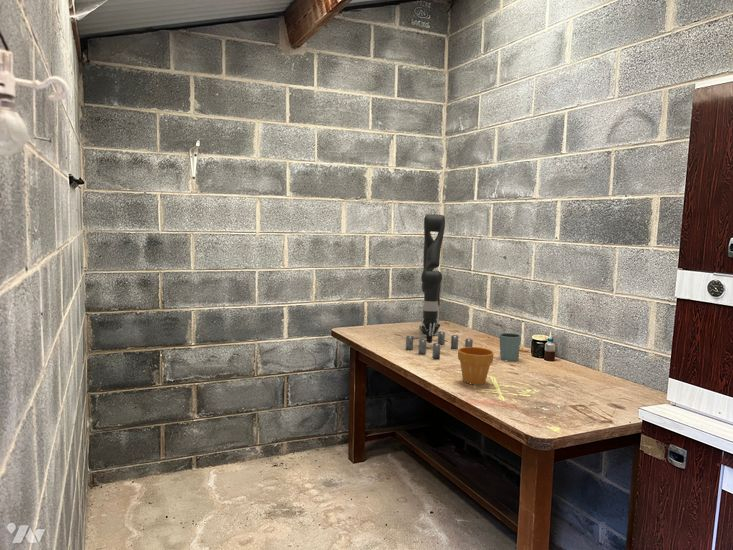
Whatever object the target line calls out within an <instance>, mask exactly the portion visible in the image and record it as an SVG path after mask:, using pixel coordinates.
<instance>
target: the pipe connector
mask: <svg viewBox="0 0 733 550" xmlns="http://www.w3.org/2000/svg"><path fill="white" fill-rule="evenodd" d="M418 331H419V335H412V336H413V340H420V339H424V340H426V338H427V336H426V335H424V334H423V332H422V331H421V329H420V327H419V326H418Z"/></svg>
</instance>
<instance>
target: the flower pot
mask: <svg viewBox="0 0 733 550" xmlns="http://www.w3.org/2000/svg"><path fill="white" fill-rule="evenodd" d="M457 360H458V361H459V362H460V368H461V375H462V381H463V382H464V383H465V382H467V383H471V384H470V385H472V384H482V385H484V384H486V380H487V377H488V374H489V371H490V366H491V364H492V363H493V362H494V351H493V350H492V349H489V348H483V347H477V346H472V347H465V346H464V347H460V348H458V350H457ZM467 383H466V384H467ZM483 383H484V384H483Z"/></svg>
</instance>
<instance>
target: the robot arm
mask: <svg viewBox="0 0 733 550" xmlns="http://www.w3.org/2000/svg"><path fill="white" fill-rule="evenodd" d="M445 226H446V217H445V216H444V215H443V214H436V213H434V214H430V213H429V214H425V216H424V219H423V236H424V237H423V239H424V242H423V243H424V245H423V260H422V265H423V269H422V270H423V271H422V274H421V278H420V279H421V291H422V292H423V293H424V294H423V305H422V317H421V325H419V326H418V328H419V327H420V329H421V331H422V332H423V335H426V336H427V338H425V340H426V344H433V343H432V342H433V337H434V336H433V335H435V336H438V332H439V330H440V327H441V323H440V322H439V321H440V302H441V300H440V297H441V290H442V289H441V287H442V280H443V274H442V272H441V271H439V270H435V269H438V268H439V267H440V261H441V249H442V244H443V239H444V234H445V228H446V227H445ZM432 232H434V233H437V234H436V235H437V236H436V237H435V239H434V238H433V236H432Z"/></svg>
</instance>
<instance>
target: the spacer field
mask: <svg viewBox="0 0 733 550" xmlns="http://www.w3.org/2000/svg"><path fill="white" fill-rule="evenodd" d="M413 336H414V335H406V336H405V351H408V350H409V351H410V352H412V351H413V349H414V339H413ZM450 337H451V338H450V349H451V350H452V349H459V335H456V334H452V335H451V336H450ZM445 341H446V331H438V335H437V342H436V343H432V353H431V355H432V356H431V359H432V358H433V359H432V360H436V359H438V360H441V346H440V345H444V346H445ZM464 343H465V344H464V347H474V346H473V344H474V340H473V339H472V338H465V341H464ZM411 350H412V351H411ZM420 354H421V355H420ZM425 354H426V355H427V341H426V339H418V355H420V356H424V355H425Z"/></svg>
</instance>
